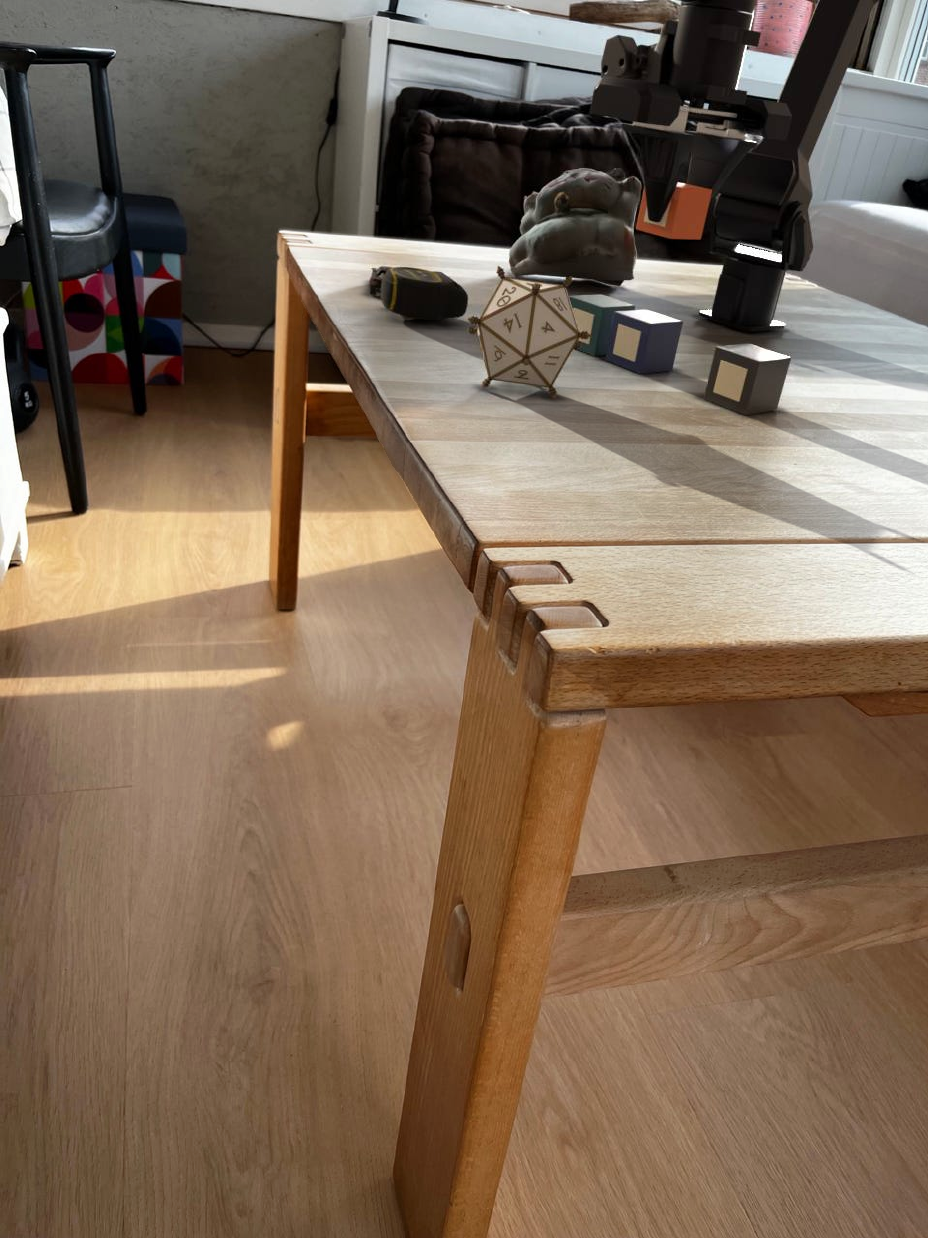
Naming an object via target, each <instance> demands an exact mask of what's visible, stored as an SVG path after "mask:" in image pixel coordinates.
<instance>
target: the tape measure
mask: <svg viewBox="0 0 928 1238" xmlns="http://www.w3.org/2000/svg"><path fill="white" fill-rule="evenodd" d="M393 267H394V268H391V269H388V270H387V271H386V274H385V276H384V277H383V279H382V285H381V293H380V299H381V303H382V306H383V307H384V308H385V309H386V310H388V311H390V312H392V313H394V314H395V315H399V316H400V317H401V318H403V319H404V320H405V321H411V320H423V321H434V320H435V321H436V320H451V319H457V318H461V317H463V316H464V315H465V314H466V312H467V308H468V303H469V295H468V293H467V291H466V290H465V289H464V287H463V286H462V285H460V284H459V282H457V281H455V280H454V279H453V278H451V277H450V276H448V275H447V274H445V273H444V272H443V271H436V270H434V271H433V270H428V269H423V268H418V267H411V266H393Z"/></svg>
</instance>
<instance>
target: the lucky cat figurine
mask: <svg viewBox="0 0 928 1238" xmlns="http://www.w3.org/2000/svg"><path fill="white" fill-rule="evenodd" d="M641 190H642V182H641V181H640V180H639V179H638V177H636V176H634V175H632V176H629V177H627V178H626V174H625V171H624V169H623V168H619V167H618V168H614V169H610V170H607V171H606V172H603V171H599V170H595V169H592V168H586V167H582V168H578V169H577V168H576V169H571V170H566V171H564V172H563V173H562V174H561V175H560V176H559V177H557V178H555V179H553V180H552V181H550V182H549V183H547V184H546V185H545V186H543V187H542V188H541V190H540V191H539V192H537V191H534V190H533V191H532V193H531V194H530V195H528V196H527V195H524V197H523V199H524V200H523V211H524V215H523V216H522V218H521V220H520V222H521V223H520V226H519V232H520V234H521V236H520V237H519V238H518V239H517V240H516V241H515V242H514V243H513V244H512V246H511V247H510V249H509V251H508V252H509V253H508V256H509V257H508V258H509V259H508V264H509V267H510V272H511V274H512V275H513V276H514V278H519V277H522V276H543V277H545V276H546V277H554V278H555V277H556V278H566V277H567V278H568V277H570V276H572V279H579V280H589V281H590V280H592V281H595V282H598V283H601V284H605V285H608V286H609V285H610V286H614V287H621V285H622V284H623V283H624V282H625V281H633V280H635V276H634V270H635V267H636V262H637V258H638V252H637V251H638V250H637V248H636V238H635V235H634V225H635V220H636V214H637V209H638V205H639V204H640V203H641V202H640V201H641Z"/></svg>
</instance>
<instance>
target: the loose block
mask: <svg viewBox="0 0 928 1238" xmlns="http://www.w3.org/2000/svg"><path fill="white" fill-rule="evenodd" d="M711 193H712V190H711V189H707V188H702V187H698V186H693V185H689V184H687V183H684V182H679V181H678V183H677V186H676V188H675V191H674V193H673V195H672V198H671V200H670V203H669V205H668V207H667V209H666V211H665V213H664V215H663V217H662V219H661V221H660V222H652V221H650V220H649V219H648V212H647V203H646V194H645V185H643V192H642V196H641V200H640V201H641V202H640V207H639V213H638V217H637V221H636V227H635V230H637V231H640V232H644V233H648V234H651V235H655V236H659V237H662V238H666V239H670V240H698V241H699V240H702V237H703V231H704V227H705V223H706V219H707V214H708V210H709V205H710V202H711V200H710V197H711Z"/></svg>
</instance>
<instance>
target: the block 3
mask: <svg viewBox="0 0 928 1238" xmlns="http://www.w3.org/2000/svg"><path fill="white" fill-rule="evenodd" d="M791 360H792V357H791V356H787V355H785V354H781V353H779V352H775V351H772V350H769V349H767V348H763V347H760V346H758V345H754V344H752V343H739V344H729V345H719V346H716V347H715V349H714V353H713V358H712V361H711V365H710V369H709V374H708V378H707V382H706V385H705V391H704V395H703V400H704V401H708V402H710V403H713V404H715V405H718V406H721V407H723V408H725V409H728V410H731V411H732V412H735V413H738V414H741V415H744V416H748V415H749V416H750V415H755V414H760V413H766V412H772V411H777V410H778V408H779V404H780V399H781V396H782V394H783V393H782V392H783V389H784V385H785V381H786V379H787V375H788V372H789V368H790V364H791Z"/></svg>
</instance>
